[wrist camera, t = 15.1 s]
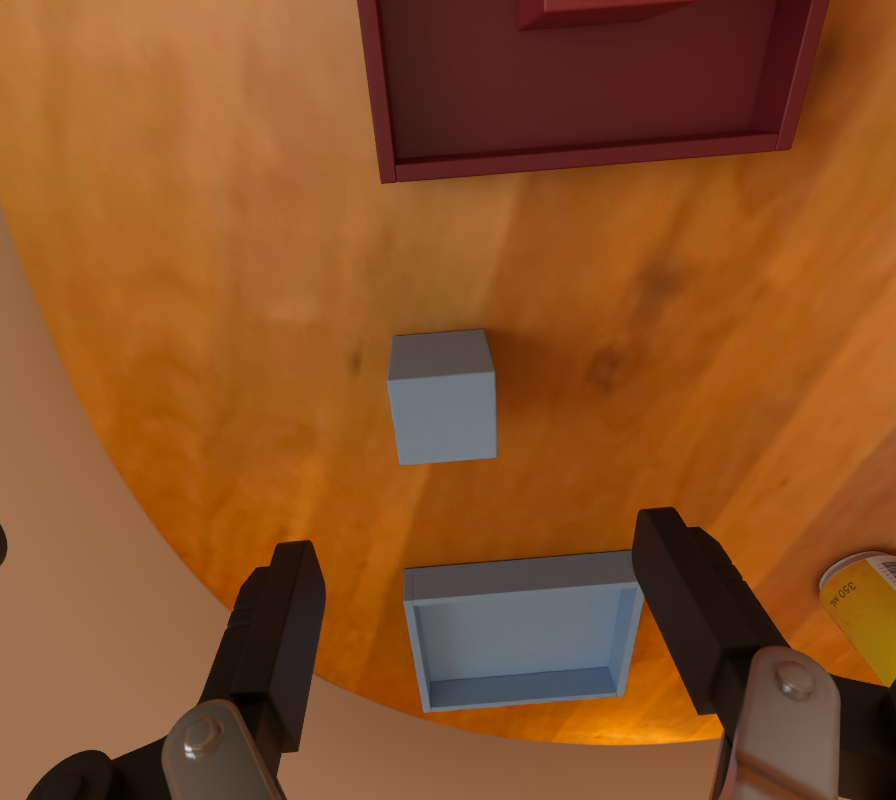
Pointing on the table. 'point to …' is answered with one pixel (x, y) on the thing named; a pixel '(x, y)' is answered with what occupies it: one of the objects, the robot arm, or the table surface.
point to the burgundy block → (589, 12)
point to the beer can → (865, 607)
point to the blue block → (443, 397)
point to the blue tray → (522, 630)
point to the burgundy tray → (581, 85)
